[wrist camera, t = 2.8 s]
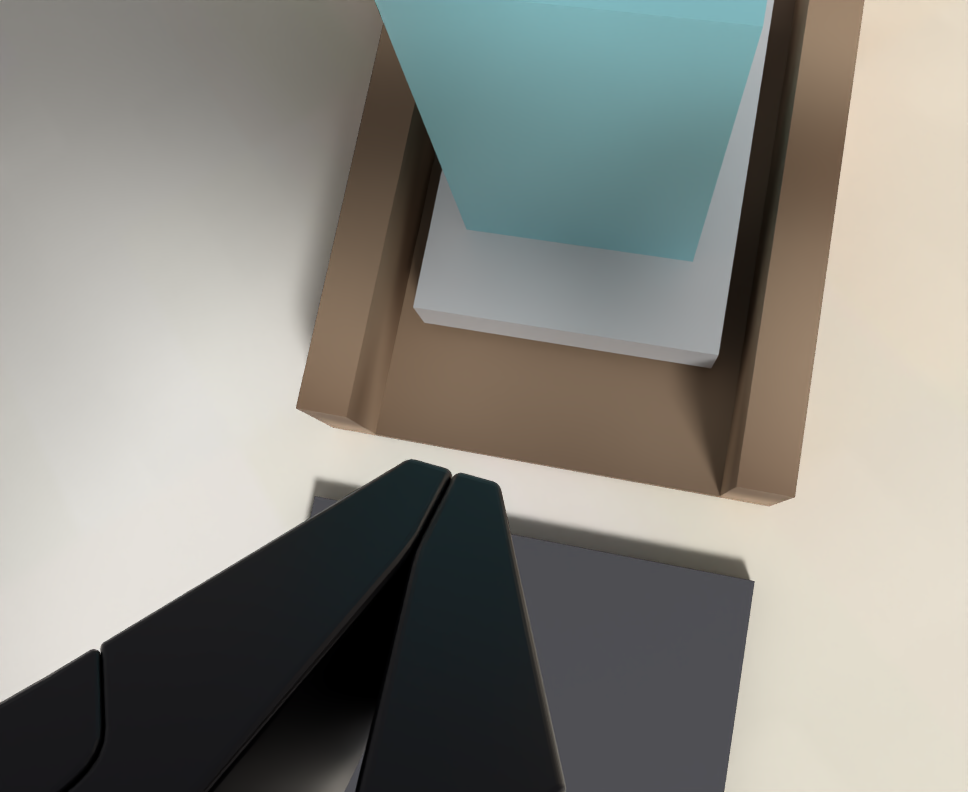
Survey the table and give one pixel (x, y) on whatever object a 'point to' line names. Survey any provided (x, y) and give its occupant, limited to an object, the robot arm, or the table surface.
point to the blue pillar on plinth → (585, 165)
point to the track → (586, 372)
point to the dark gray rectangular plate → (632, 665)
